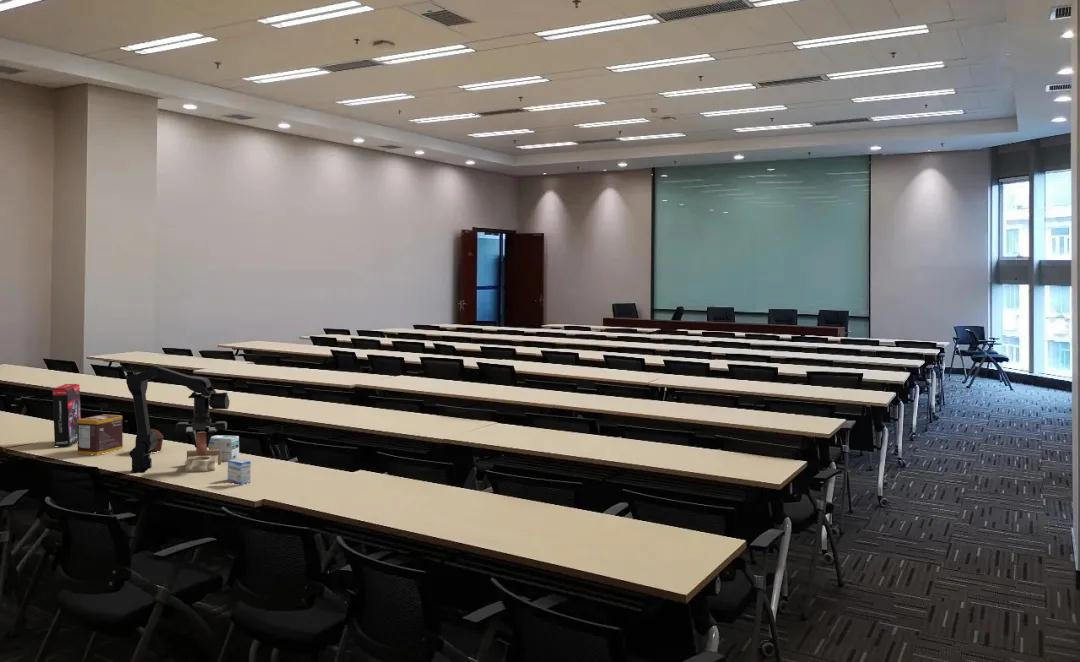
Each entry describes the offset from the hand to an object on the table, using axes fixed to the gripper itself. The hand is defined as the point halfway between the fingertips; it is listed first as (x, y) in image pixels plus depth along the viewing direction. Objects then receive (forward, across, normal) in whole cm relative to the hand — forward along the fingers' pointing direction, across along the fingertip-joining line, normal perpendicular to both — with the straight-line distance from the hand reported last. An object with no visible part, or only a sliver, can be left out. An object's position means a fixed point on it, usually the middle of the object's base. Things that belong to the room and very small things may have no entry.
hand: (201, 447), depth 325 cm
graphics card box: (+10, -67, +68) cm, 96 cm away
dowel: (+3, 0, 0) cm, 3 cm away
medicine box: (+10, +17, -24) cm, 30 cm away
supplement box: (+10, -48, +46) cm, 68 cm away
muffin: (+10, -27, +42) cm, 52 cm away
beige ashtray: (+8, 0, 0) cm, 9 cm away
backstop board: (+10, 0, -2) cm, 10 cm away
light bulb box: (+10, +7, +16) cm, 20 cm away
